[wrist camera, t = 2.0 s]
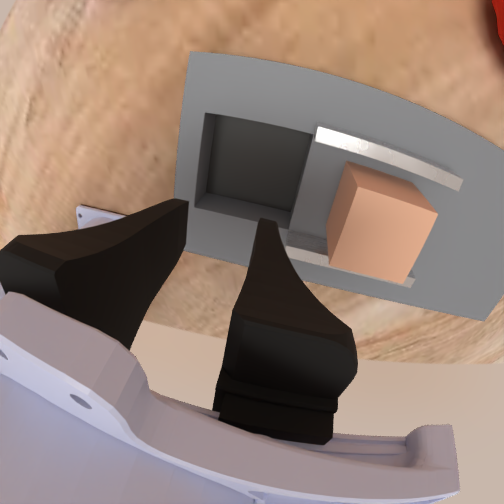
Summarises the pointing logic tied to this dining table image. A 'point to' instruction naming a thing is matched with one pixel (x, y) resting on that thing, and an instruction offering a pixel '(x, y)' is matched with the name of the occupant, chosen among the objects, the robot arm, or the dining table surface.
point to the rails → (316, 247)
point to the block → (377, 223)
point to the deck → (332, 176)
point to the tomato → (499, 17)
